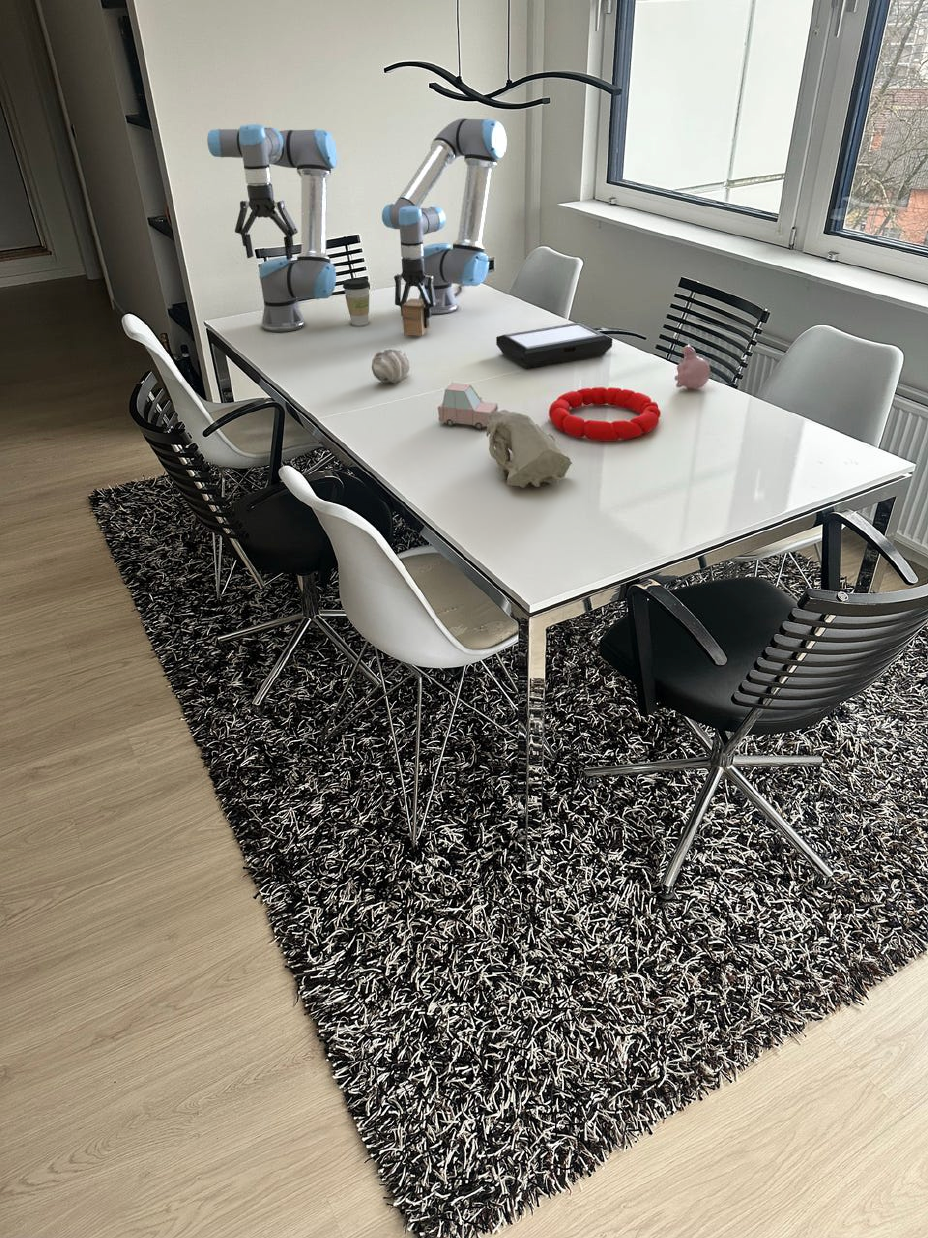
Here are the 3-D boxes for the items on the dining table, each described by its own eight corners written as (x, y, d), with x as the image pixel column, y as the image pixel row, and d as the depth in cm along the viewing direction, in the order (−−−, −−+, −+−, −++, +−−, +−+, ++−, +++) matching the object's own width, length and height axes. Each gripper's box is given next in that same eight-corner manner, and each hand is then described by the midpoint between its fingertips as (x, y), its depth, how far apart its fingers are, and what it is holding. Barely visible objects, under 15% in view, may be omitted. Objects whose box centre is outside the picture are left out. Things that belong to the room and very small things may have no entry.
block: (422, 335, 308) (420, 306, 303) (403, 334, 310) (401, 305, 304) (429, 327, 315) (428, 299, 310) (411, 326, 317) (410, 298, 311)
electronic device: (524, 351, 275) (496, 334, 291) (524, 371, 279) (496, 353, 294) (612, 335, 286) (581, 320, 301) (611, 355, 289) (580, 338, 304)
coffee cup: (372, 326, 323) (368, 283, 314) (345, 327, 323) (340, 284, 315) (374, 318, 331) (371, 276, 322) (348, 319, 331) (344, 277, 323)
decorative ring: (589, 435, 224) (684, 402, 234) (527, 398, 247) (617, 369, 256) (589, 461, 229) (683, 427, 238) (529, 422, 251) (617, 393, 260)
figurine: (665, 387, 264) (669, 347, 257) (693, 380, 268) (698, 340, 261) (686, 396, 257) (690, 355, 250) (714, 388, 262) (720, 348, 255)
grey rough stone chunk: (496, 517, 219) (521, 479, 201) (463, 429, 225) (484, 384, 207) (557, 503, 225) (586, 465, 206) (523, 417, 231) (549, 373, 212)
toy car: (488, 432, 240) (488, 396, 234) (436, 426, 244) (434, 390, 239) (499, 419, 247) (499, 384, 241) (448, 413, 252) (447, 379, 246)
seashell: (364, 381, 275) (361, 349, 270) (407, 372, 281) (405, 341, 275) (377, 391, 268) (374, 358, 262) (421, 382, 273) (420, 349, 268)
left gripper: (302, 181, 267) (311, 256, 279) (228, 180, 273) (239, 253, 285) (291, 186, 261) (301, 262, 273) (215, 184, 267) (228, 259, 279)
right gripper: (444, 255, 299) (446, 324, 312) (388, 253, 304) (393, 321, 317) (437, 260, 293) (440, 330, 306) (381, 258, 298) (386, 327, 311)
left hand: (269, 257), depth 279 cm, fingers open, 13 cm apart
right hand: (416, 326), depth 312 cm, fingers closed on block, 7 cm apart
